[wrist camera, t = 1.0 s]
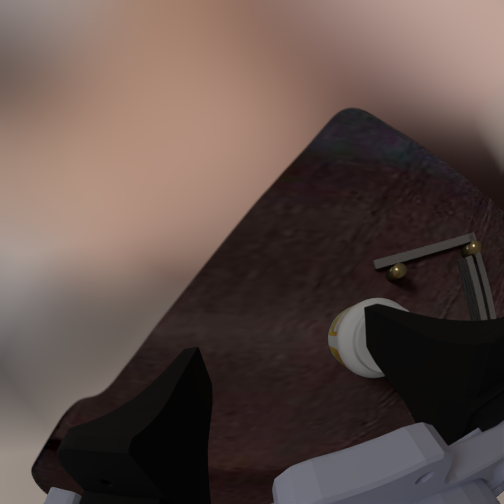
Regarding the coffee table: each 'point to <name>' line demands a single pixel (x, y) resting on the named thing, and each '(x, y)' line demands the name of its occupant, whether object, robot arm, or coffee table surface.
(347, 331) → the supplement bottle
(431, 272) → the coffee table surface
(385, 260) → the frame
